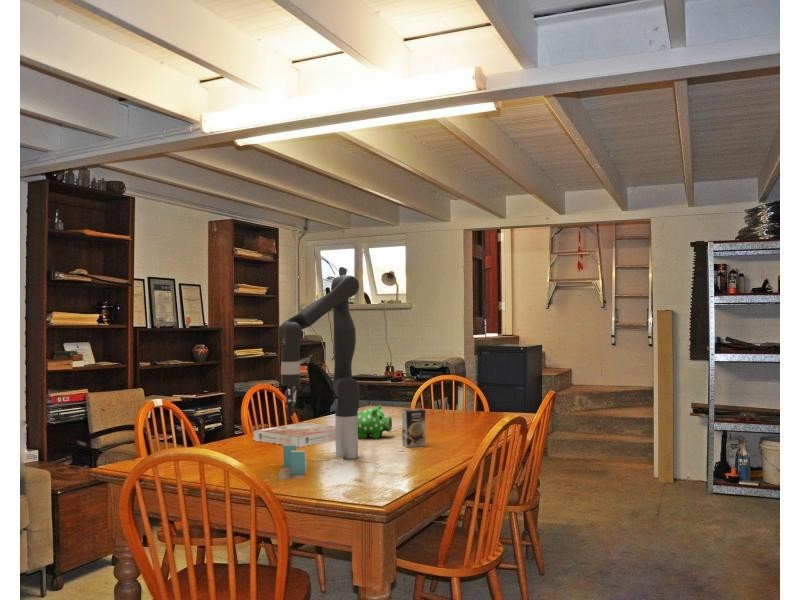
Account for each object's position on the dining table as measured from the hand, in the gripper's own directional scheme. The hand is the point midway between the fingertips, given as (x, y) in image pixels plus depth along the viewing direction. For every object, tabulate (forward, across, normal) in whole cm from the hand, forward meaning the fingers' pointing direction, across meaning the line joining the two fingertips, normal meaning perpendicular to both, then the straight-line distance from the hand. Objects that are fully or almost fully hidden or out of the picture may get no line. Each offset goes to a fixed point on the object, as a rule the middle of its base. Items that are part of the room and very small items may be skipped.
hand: (291, 414), depth 265 cm
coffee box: (+20, +36, -51) cm, 66 cm away
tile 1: (+19, -7, 0) cm, 20 cm away
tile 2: (+19, -20, -4) cm, 27 cm away
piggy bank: (+20, +60, -33) cm, 72 cm away
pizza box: (+21, +61, +1) cm, 65 cm away
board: (+20, -14, -2) cm, 24 cm away
